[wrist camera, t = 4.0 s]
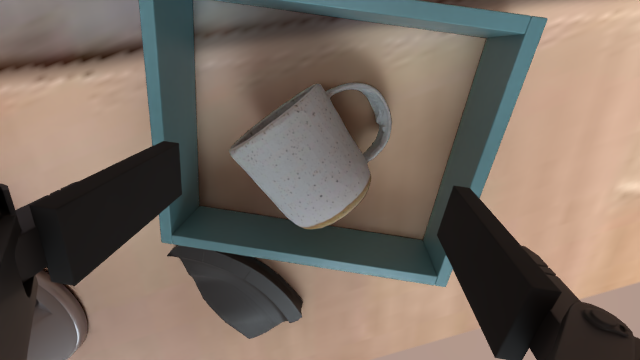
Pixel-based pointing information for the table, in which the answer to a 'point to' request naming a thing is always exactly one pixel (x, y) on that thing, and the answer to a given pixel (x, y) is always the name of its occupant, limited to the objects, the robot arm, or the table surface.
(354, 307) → the table surface
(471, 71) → the table surface
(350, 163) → the ceramic mug
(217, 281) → the dark sector wedge
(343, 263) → the teal rectangular frame
